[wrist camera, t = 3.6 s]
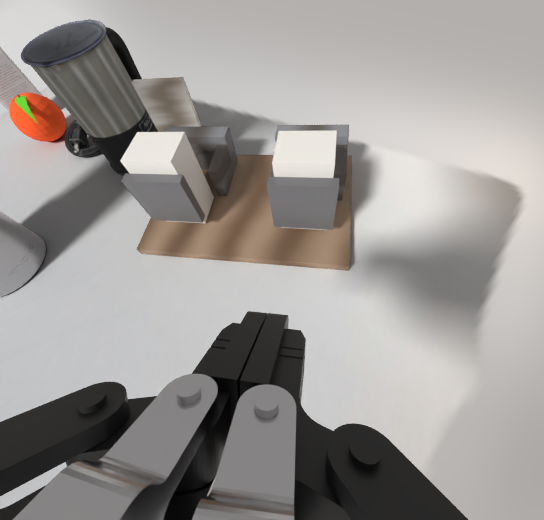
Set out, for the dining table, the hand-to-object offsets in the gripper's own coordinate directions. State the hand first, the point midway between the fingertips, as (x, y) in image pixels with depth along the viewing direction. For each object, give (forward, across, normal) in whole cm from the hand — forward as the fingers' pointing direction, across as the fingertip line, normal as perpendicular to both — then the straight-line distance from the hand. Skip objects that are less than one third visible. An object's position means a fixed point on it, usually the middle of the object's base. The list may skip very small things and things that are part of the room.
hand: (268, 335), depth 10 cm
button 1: (+21, 0, -2) cm, 21 cm away
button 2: (+21, +14, -2) cm, 26 cm away
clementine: (+33, +44, -12) cm, 56 cm away
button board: (+24, +7, -3) cm, 25 cm away
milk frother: (+31, +30, -10) cm, 44 cm away
